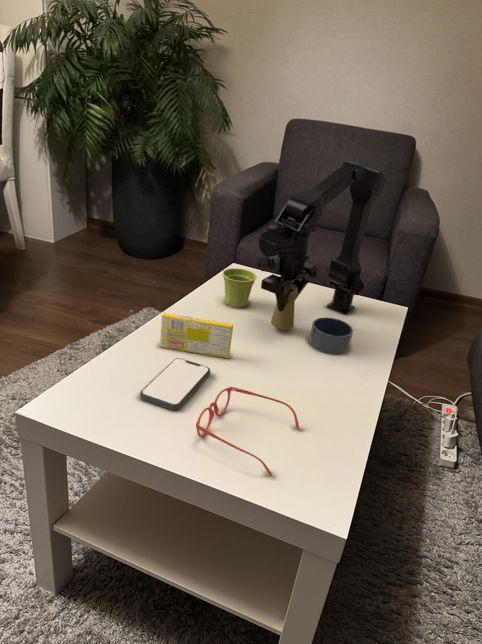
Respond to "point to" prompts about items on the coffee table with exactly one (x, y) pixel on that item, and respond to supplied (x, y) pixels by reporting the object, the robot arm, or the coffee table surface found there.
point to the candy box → (196, 335)
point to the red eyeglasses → (216, 409)
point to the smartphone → (175, 384)
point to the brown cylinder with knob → (285, 313)
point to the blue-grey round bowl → (330, 335)
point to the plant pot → (238, 286)
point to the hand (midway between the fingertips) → (284, 308)
